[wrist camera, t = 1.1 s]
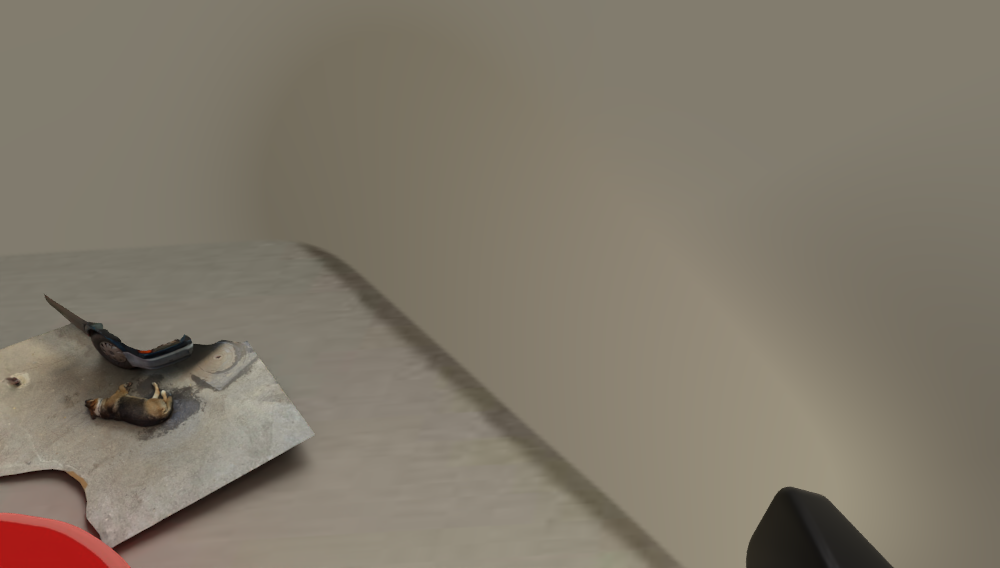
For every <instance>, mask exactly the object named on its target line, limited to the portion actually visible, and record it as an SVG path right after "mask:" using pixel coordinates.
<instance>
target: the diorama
mask: <svg viewBox="0 0 1000 568" xmlns="http://www.w3.org/2000/svg"><path fill="white" fill-rule="evenodd" d="M44 295H45V294H44ZM45 298H46V300H47V302H48V303H49V304H50V305H51V306H53V307H54V308H55V309H56V310H58V311H59V312H60V313H61V314H62V315H63V316H64V317H65V318H67V319H68V320H69V321H70V322H71V323H72V324H70V325H66V326H64V327H61V328H58V329H55V330H53V331H50V332H47V333H45V334H42V335H38V336H36V337H33V338H30V339H27V340H25V341H23V342H20V343H17V344H14V345H11V346H9V347H6V348H3V349H1V350H0V476H5V475H13V474H20V473H25V472H30V471H37V470H47V469H56V470H63V471H65V472H67V473H68V474H69V475H71V476H72V477H74V478H75V479H77V480H78V481H79V482H80V483H81V485H82V487H83V488H84V490H85V494H86V499H87V507H86V516H87V519H88V521H89V522H90V523H91V524H92V525H93V527H94V528H95V529H96V531H97V532H98V533H99V534H100V538H101V541H102V542H104V543H105V544H106V545H108V546H109V547H110V548H112V547H114V546H116V545H118V544H119V543H121V542H123V541H125V540H126V539H128V538H130V537H132V536H134V535H136V534H138V533H139V532H141V531H143V530H145V529H147V528H149V527H150V526H152V525H154V524H156V523H157V522H159V521H161V520H163V519H164V518H166V517H168V516H170V515H172V514H173V513H175V512H177V511H179V510H181V509H183V508H184V507H186V506H188V505H190V504H192V503H194V502H195V501H197V500H199V499H201V498H203V497H204V496H206V495H208V494H210V493H212V492H214V491H215V490H217V489H219V488H221V487H222V486H224V485H226V484H228V483H230V482H231V481H233V480H235V479H237V478H239V477H240V476H242V475H244V474H246V473H248V472H249V471H251V470H253V469H255V468H257V467H258V466H260V465H262V464H264V463H265V462H267V461H269V460H271V459H273V458H274V457H276V456H278V455H280V454H282V453H283V452H285V451H287V450H289V449H290V448H292V447H294V446H296V445H297V444H299V443H301V442H303V441H305V440H306V439H308V438H310V437H312V436H314V435H315V434H314V432H313V431H312V430H311V428H310V427H309V426H308V424H307V423H306V421H305V420H304V419H303V417H302V416H301V414H300V413H299V412H298V410H297V409H296V408H295V406H294V405H293V403H292V402H291V401H290V399H289V398H288V397H287V395H286V394H285V392H284V391H283V390H282V388H281V387H280V386H279V384H278V383H277V381H276V380H275V379H274V377H273V376H272V375H271V373H270V372H269V371H268V369H267V368H266V366H265V365H264V364H263V362H262V361H261V360H260V358H259V357H258V355H257V354H256V353H255V351H254V350H253V348H252V347H251V346H250V344H249V343H248V341H246V342H244V343H239V342H233V341H228V340H221V341H219V342H217V343H215V344H212V345H200V344H192V341H191V339H190V338H189V337H188V336H186V335H185V334H184V336H183V337H182V338H181V340H178V339H177V340H176V339H175V340H174V341H172V342H169V343H167V344H165V345H161V346H158V347H157V348H155V349H152V350H148V351H140V350H137V349H134V348H131V347H128V346H126V345H125V344H123V343H121V340H120V339H119V338H118V337H116V336H114V335H113V334H111V333H109V332H108V330H106V329H103V325H102V324H101V323H91V322H86V321H85V320H83V319H81V318H80V317H78V316H76V315H75V314H73V313H72V312H70V311H69V310H67V309H66V308H64V307H63V306H61V305H59V304H58V303H56V302H55V301H53V300H52V299H50V298H49V297H47V296H46V295H45Z"/></svg>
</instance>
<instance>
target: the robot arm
mask: <svg viewBox="0 0 1000 568" xmlns="http://www.w3.org/2000/svg"><path fill="white" fill-rule="evenodd" d="M746 568H893V567H892V566H891V565H890V564H889V563H888V562H887V561H886V559H885V558H884V557H883V556H882V555H881V554H880V553H879V552H878V551H877V550H876V549H875V548H874V547H873V546H872V545H871V544H870V543H869V542H868V541H867V539H866V538H864V536H863V535H862V534H861V533H860V532H859V531H858V530H857V529H856V528H855V527H854V526H853V525H852V524H851V523H850V522H849V521H848V520H847V519H846V518H845V516H844V515H843V514H842V513H841V512H840V511H839V510H838V509H837V508H836V507H835V506H834V505H833V504H832V503H831V502H830V501H829V500H828V499H827V498H826V497H824V496H822V495H820V494H817V493H813V492H809V491H805V490H801V489H798V488H794V487H785V488H782V489H781V490H780V491H779V492H778V493H777V494H776V496H775V497H774V499H773V501H772V502H771V504H770V506H769V507H768V509H767V511H766V513H765V514H764V516H763V518H762V520H761V522H760V523H759V525H758V527H757V529H756V530H755V532H754V534H753V535H752V538H751V540H750V542H749V546H748V550H747V557H746Z"/></svg>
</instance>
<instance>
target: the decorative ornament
mask: <svg viewBox="0 0 1000 568" xmlns="http://www.w3.org/2000/svg"><path fill="white" fill-rule="evenodd" d="M0 568H130V566H129V565H128V564H127V563H126V562H125V561H124V560H123V558H122V557H121V556H120V555H118V554H117V553H116V552H115V551H114V550H113V549H112V548H110V547H109V546H108V545H106V544H105V543H104V542H102V541H101V540H99V539H98V538H96V537H95V536H93V535H91V534H90V533H88V532H86V531H84V530H82V529H80V528H78V527H76V526H73V525H71V524H68V523H65V522H62V521H57V520H53V519H46V518H40V517H34V516H28V515H22V514H13V513H0Z"/></svg>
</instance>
